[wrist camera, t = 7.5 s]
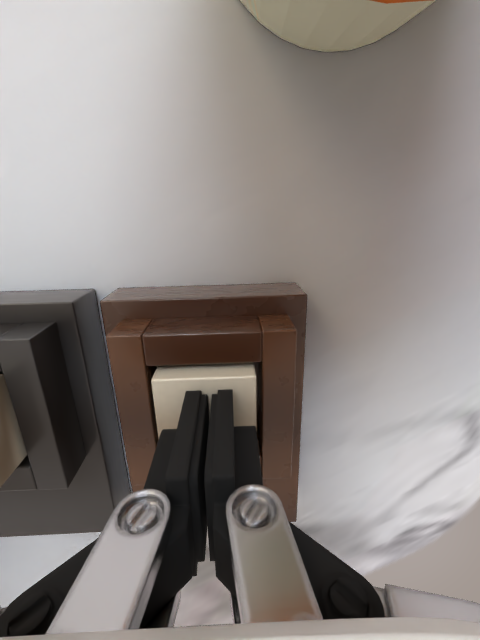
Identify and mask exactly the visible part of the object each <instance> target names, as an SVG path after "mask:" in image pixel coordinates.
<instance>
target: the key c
mask: <svg viewBox="0 0 480 640" xmlns="http://www.w3.org/2000/svg"><path fill="white" fill-rule="evenodd" d="M26 456H27V451H26V448H25V445H24V441H23V438H22V435H21V431H20V428H19V425H18V421H17V418H16V415H15V411H14V408H13V405H12V401H11V398H10V395H9V391H8V388H7V385H6V381H5V378H4V375H3V374H0V488H1V486H2V485H3V484H4V483H5V481H6V480H7V479H8V478H9V477H10V475H11V474H12V473H13V472H14V470H15V469H16V468H17V467H18V466H19V464H20V463H21V462H22V461H23V459H24V458H25V457H26Z"/></svg>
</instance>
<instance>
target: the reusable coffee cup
mask: <svg viewBox="0 0 480 640" xmlns="http://www.w3.org/2000/svg"><path fill="white" fill-rule="evenodd" d="M240 1H241V3H242V4H243V5H244V6H245V7H246V8H247V9H248V11H249V12H250V13H251V14H252V15H253V16H254V17H255V18H256V20H257V21H258V22H259V23H260V24H262V25H263V26H264V27H266V28H267V29H268V30H270V31H271V32H272V33H274V34H275V35H276V36H278V37H279V38H281V39H283V40H285V41H288V42H290V43H292V44H294V45H297V46H299V47H301V48H305V49H311V50H317V51H323V52H334V51H348V50H352V49H356V48H359V47H362V46H365V45H368V44H372V43H374V42H376V41H378V40H379V39H381V38H383V37H385V36H386V35H388V34H390V33H392V32H393V31H395V30H397V29H398V28H399V27H401V26H402V25H404V24H405V23H406V22H408V21H409V20H410V19H412V18H413V17H415V16H416V15H417V14H419V13H420V12H421V11H423V10H424V9H425V8H427V7H428V6H430V5H431V4H432V3H434V2H435V1H436V0H240Z"/></svg>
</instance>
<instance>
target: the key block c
mask: <svg viewBox="0 0 480 640" xmlns="http://www.w3.org/2000/svg"><path fill="white" fill-rule="evenodd" d="M0 374H3V375H4V378H5V381H6V385H7V388H8V391H9V395H10V398H11V401H12V405H13V408H14V411H15V415H16V418H17V421H18V425H19V428H20V431H21V435H22V438H23V441H24V445H25V448H26V451H27V456H26V457H25V458H24V459H23V461H22V462H21V463H20V464H19V466H18V467H17V468H16V469H15V470H14V472H13V473H12V474H11V475H10V477H9V478H8V479H7V480H6V481H5V483H4V484H3V485H2V486H1V488H0V537H10V536H29V535H48V534H68V533H87V532H102V531H103V529H104V527H105V525H106V523H107V521H108V520H109V518H110V516H111V514H112V512H113V511H114V509H115V508H116V506H117V505H118V504H119V502H120V501H122V500H123V499H124V498H125V497H126V496H128V495H130V488H129V482H128V477H127V471H126V465H125V459H124V454H123V448H122V442H121V437H120V431H119V425H118V420H117V414H116V408H115V403H114V397H113V391H112V386H111V380H110V374H109V369H108V363H107V357H106V351H105V346H104V340H103V334H102V329H101V323H100V317H99V312H98V306H97V300H96V295H95V290H94V289H72V290H39V291H6V292H0Z"/></svg>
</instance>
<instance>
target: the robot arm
mask: <svg viewBox="0 0 480 640" xmlns="http://www.w3.org/2000/svg"><path fill="white" fill-rule="evenodd" d="M207 524H208V538H209V551H210V561H215V567H216V577H217V578H218V579H219V580H220V581H221V582H222V583H223V585H224V586H225V587H226V588H227V589H228V590H229V591H230V601H231V609H232V616H233V624H224V625H205V626H186V627H173V626H174V622H175V618H176V614H177V610H178V606H179V602H180V595H181V589H182V588H183V587H184V585H185V584H186V583H187V582H188V581H189V580H190V579H191V578H192V576H197V564H198V562H201V561H205V550H206V536H207ZM0 640H480V604H478V603H475V602H473V601H468V600H463V599H458V598H453V597H448V596H443V595H438V594H433V593H428V592H423V591H418V590H413V589H408V588H404V587H398V586H394V585H388V584H385V588H384V589H383V588H378V587H373V586H372V585H371V584H370V583H369V582H368V581H367V580H366V579H365V578H364V577H363V576H362V575H360V574H359V573H358V572H356V571H355V570H354V569H352V568H351V567H350V566H348V565H347V564H345V563H344V562H343V561H341V560H340V559H339V558H337V557H336V556H335V555H333V554H332V553H331V552H329V551H328V550H327V549H325V548H324V547H323V546H321V545H320V544H319V543H317V542H316V541H315V540H313V539H312V538H311V537H309V536H308V535H307V534H305V533H304V532H303V531H301V530H300V529H299V528H297V527H296V526H295V525H293V524H292V523H291V522H289V521H288V519H287V516H286V513H285V511H284V508H283V505H282V502H281V500H280V499H279V497H278V495H277V494H276V493H275V492H274V491H273V490H271V489H269V488H267V487H265V486H263V480H262V472H261V464H260V456H259V448H258V440H257V432H256V426H234V414H233V389H225V390H218V393H217V394H212V398H211V408H210V419H209V409H208V395H207V394H202V391H201V390H197V391H186V392H185V397H184V401H183V405H182V409H181V413H180V417H179V422H178V426H177V429H163V430H162V431H161V434H160V437H159V440H158V443H157V447H156V450H155V453H154V456H153V460H152V463H151V466H150V469H149V473H148V476H147V479H146V482H145V486H144V489H143V490H139V491H136V492H134V493H132V494H130V495H128V496H126V497H125V498H124V499H123V500H122V501H120V502H119V504H118V505H117V506H116V508H115V509H114V511H113V512H112V514H111V516H110V518H109V520H108V521H107V523H106V525H105V527H104V529H103V531H102V532H101V534H100V536H99V538H97V539H96V540H95V541H93V542H92V543H91V544H89V545H88V546H87V547H85V548H84V549H82V550H81V551H80V552H78V553H77V554H76V555H74V556H73V557H71V558H70V559H69V560H67V561H66V562H65V563H63V564H62V565H60V566H59V567H58V568H56V569H55V570H54V571H52V572H51V573H49V574H48V575H47V576H45V577H44V578H43V579H41V580H40V581H38V582H37V583H36V584H34V585H33V586H32V587H30V588H29V589H28V590H26V591H25V592H23V593H22V594H21V595H20V596H19V597H17V598H16V599H15V600H14V601H13V602H12V603H11V604H10V605H9V606H8V607H6V608H2V609H1V607H0Z"/></svg>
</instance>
